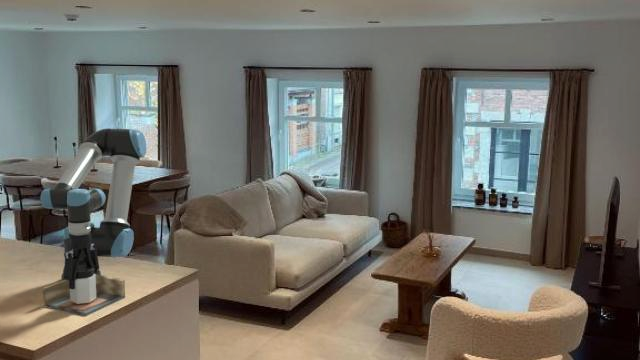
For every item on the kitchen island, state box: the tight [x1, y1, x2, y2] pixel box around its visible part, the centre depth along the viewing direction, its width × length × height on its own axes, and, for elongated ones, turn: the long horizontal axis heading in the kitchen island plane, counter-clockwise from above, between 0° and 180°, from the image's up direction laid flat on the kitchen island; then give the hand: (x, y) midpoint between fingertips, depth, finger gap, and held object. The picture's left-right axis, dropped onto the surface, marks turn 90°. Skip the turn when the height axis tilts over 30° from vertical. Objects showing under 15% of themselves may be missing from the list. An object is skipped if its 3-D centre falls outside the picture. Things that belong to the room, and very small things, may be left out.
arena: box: [42, 274, 126, 317], centre depth 234 cm, size 20×20×7 cm
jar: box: [70, 265, 96, 304], centre depth 231 cm, size 9×8×12 cm
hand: (83, 293), depth 231 cm, fingers closed on jar, 7 cm apart
